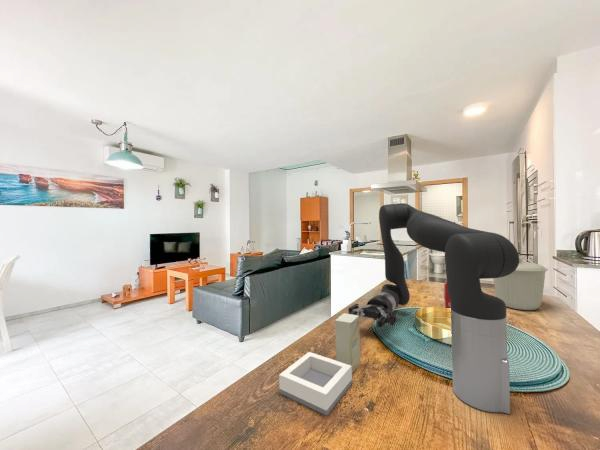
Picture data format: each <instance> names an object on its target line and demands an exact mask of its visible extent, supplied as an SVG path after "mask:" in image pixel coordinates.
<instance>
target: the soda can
mask: <svg viewBox="0 0 600 450" xmlns="http://www.w3.org/2000/svg"><path fill="white" fill-rule="evenodd" d="M443 289H444V291H443V296H444V308H445V309H446V308H451V302H450V298H449V294H448V289H447V279H445V283H444V285H443Z"/></svg>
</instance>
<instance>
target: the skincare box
mask: <svg viewBox="0 0 600 450" xmlns="http://www.w3.org/2000/svg"><path fill="white" fill-rule="evenodd" d="M358 315H359V314H357V315H353V314H348V312H347V313H345V312H344V313H342V314H341V315H339V316H338V317H337V318H335V320H334V335H335V336H334V337H335V340H334V341H335V360H336V361H339V362H342V363H345V364H348V365H351V366H352V374H353V373H354V372H355V371H356V369H357V368H358V366H360V364H361V344H360V343H361V342H360V341H361V339H360V338H361V337H360V318H359V316H358Z"/></svg>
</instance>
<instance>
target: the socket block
mask: <svg viewBox="0 0 600 450" xmlns="http://www.w3.org/2000/svg"><path fill="white" fill-rule="evenodd" d="M278 380H279V384H278V385H279V387H278V388H279V394H280V395H281V396H285V397H286V398H288V399H289V400H290V399H291V400H293V401H295V402H297V403H299V404H301V405H303V406H305V407H306V408H309V409H311V410H313V411H315V412H318V413H319V414H322V415H323V416H326V417H327V416H328V415H330V414H329V413H330V412H331V411H332V410H333V409H334V407H335V406H336V404H337V403H338V402H339V401H340V400H341V398H342V397H343V396H344V395H345V393H346V392H347V391H348V389H350V387H351V386H352V384H353V373H352V366H351V365H348V364H345V363H342V362H339V361H336V359H334V358H333V359H332V358H329V357H326V356H323V355H320V354H317V353H314V352H311V351H308V352H307V353H305V354H304V355H303V356H301V357H300V358H299V359H297V360H296V361H295V362H294V363H292V364H291V365H289V366H288V367H287V368H285V369H284V370H283V371H282V372H281V373H279V375H278Z"/></svg>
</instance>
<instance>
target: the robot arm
mask: <svg viewBox="0 0 600 450" xmlns="http://www.w3.org/2000/svg"><path fill="white" fill-rule="evenodd" d="M378 222H379V228H380V236H381V242H382V247H383V253H384V267H385V268H384V271H385V272H384V274H385V276H384V277H385V280H387V281H388V282H390V284H389V283H386V284H384V285H382V287H381V290H380V293H377V294H376V295H375V296H373V297H372V298H371V299H369V300H368V301H367V303H366V305H363V306H360V304H359V303H355V304H353V305H352V306H349V307H348V311H347V314H353V315H358V316H359V319H362V320H363V319H372V320H375V321H376V323H377V324H376V325H377V329H381V328H383V327H385V325H388V324H389V325H391V326H395V324H397V323H396V322H397V321H398V318H399V317H398V315H399V314H398V310H395V309H396V308H397V307H398V306H399V305H400V306H406V305H407V304H408V303H409V302H410V298H411V297H410V290H409V288H408V285H407V281H406V277H405V269H406V268H405V259H404V257H403V254H402V252H401V251H400V249H399V248H398V247H397V245H396V243H395V242H394V240H393V237H392V230H398V229H406V232H407V233H406V234H407V235H408V236H409V238H410V239H411V240H412V241H413V242H414V243H417V244H418V245H420V246H422V247H423V248H426V249H429V250H432V251H435V252H441V253H444V263H445V275H446V280H447V289H448V294H449V298H450V302H451V312H450V321H451V322H450V327H451V334H452V338H451V359H452V360H451V362H452V363H451V364H452V366H451V367H452V370H451V371H452V377H451V378H452V391H453V392H454V395H456V397H457V398H458V399H459V400H460V401H462V402H464V403H465V404H467V405H468V406H470V407H472V408H475V409H477V410H480V411H484V412H489V413H505V414H508V415H511V393H510V392H511V390H510V388H511V387H510V363H509V362H510V361H509V357H508V330H507V329H508V328H507V327H508V325H507V323H508V322H507V307H506V304H505V302H504V301H503V300H501V299H500V298H498V297H496V295H492V294H489V293H485V292H484V291H483V290H482V287H481V279H486V280H487V279H488V280H489V279H493V278H500V277H504V276H507V275H509V274H511V273H512V272H514V271H515V270H516V268H517V267H518V265H519V256H520V255H519V252H518V250H517V248H516V246H515V245H514V244H513V242H511V241H510V239H508V238H507V237H505V236H503V235H501V234H499V233H496V232H489V231H484V230H479V229H475V228H471V227H466V226H464V225H461V224H460V223H459V224H458V223H456V222H454V221H451V220H449V219H446V218H443V217H441V216H438V215H435V214H432V213H428V212H425V211H422V210H419V209H417V208H415V207H413V206H412V205H410V204H408V203H404V202H401V203H390V204H389V203H388V204H383V205H381V206H380V208H379V211H378ZM391 283H392V284H391Z"/></svg>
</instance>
